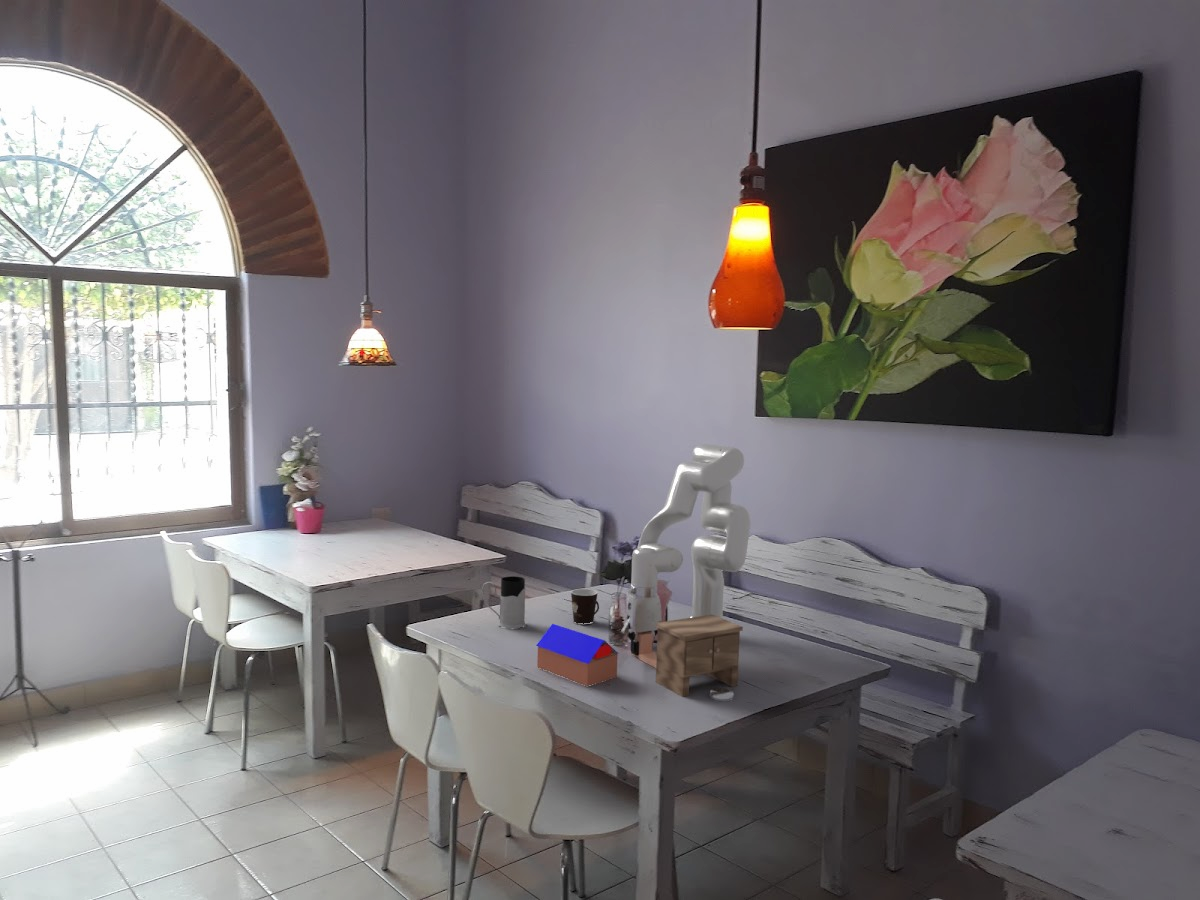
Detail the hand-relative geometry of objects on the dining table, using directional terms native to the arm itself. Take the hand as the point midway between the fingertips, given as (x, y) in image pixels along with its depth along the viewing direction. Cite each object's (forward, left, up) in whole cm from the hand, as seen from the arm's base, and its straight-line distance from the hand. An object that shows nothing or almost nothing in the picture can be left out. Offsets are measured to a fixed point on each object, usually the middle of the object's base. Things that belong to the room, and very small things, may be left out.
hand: (641, 652), depth 263 cm
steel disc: (+37, 0, -1) cm, 37 cm away
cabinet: (+26, 0, -1) cm, 26 cm away
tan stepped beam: (+8, 0, -1) cm, 8 cm away
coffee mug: (-35, +1, -1) cm, 35 cm away
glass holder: (-45, -23, -1) cm, 51 cm away
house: (+4, -24, -1) cm, 25 cm away
